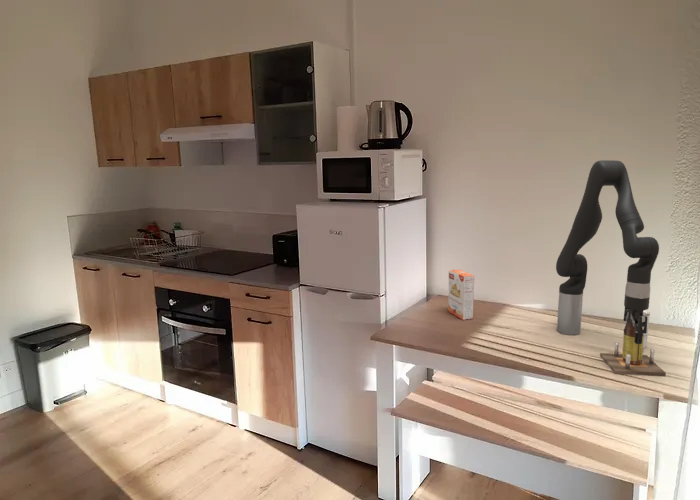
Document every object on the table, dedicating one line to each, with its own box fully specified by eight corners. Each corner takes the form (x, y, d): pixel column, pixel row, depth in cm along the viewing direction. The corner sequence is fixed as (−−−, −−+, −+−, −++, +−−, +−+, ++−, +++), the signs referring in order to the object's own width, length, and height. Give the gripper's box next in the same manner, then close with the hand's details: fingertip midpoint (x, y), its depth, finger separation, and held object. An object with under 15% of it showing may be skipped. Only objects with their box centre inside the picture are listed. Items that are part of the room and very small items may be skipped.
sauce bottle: (635, 358, 186) (640, 305, 182) (645, 365, 179) (650, 310, 176) (617, 359, 185) (621, 305, 182) (627, 366, 179) (632, 310, 176)
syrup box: (623, 345, 202) (626, 309, 200) (634, 343, 204) (637, 307, 202) (635, 350, 197) (639, 313, 195) (647, 348, 199) (650, 311, 197)
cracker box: (447, 312, 249) (448, 269, 245) (458, 310, 250) (459, 268, 247) (461, 320, 235) (463, 275, 232) (473, 319, 237) (475, 274, 233)
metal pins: (613, 355, 189) (614, 342, 188) (646, 356, 187) (647, 343, 187) (625, 369, 177) (627, 355, 176) (661, 370, 175) (662, 356, 174)
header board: (599, 356, 192) (600, 352, 191) (646, 358, 189) (646, 354, 189) (614, 373, 176) (615, 370, 176) (665, 376, 174) (665, 372, 173)
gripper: (618, 289, 186) (614, 332, 188) (633, 299, 172) (629, 346, 175) (640, 289, 184) (637, 333, 187) (657, 300, 171) (653, 347, 173)
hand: (633, 339), depth 181 cm, fingers open, 8 cm apart
